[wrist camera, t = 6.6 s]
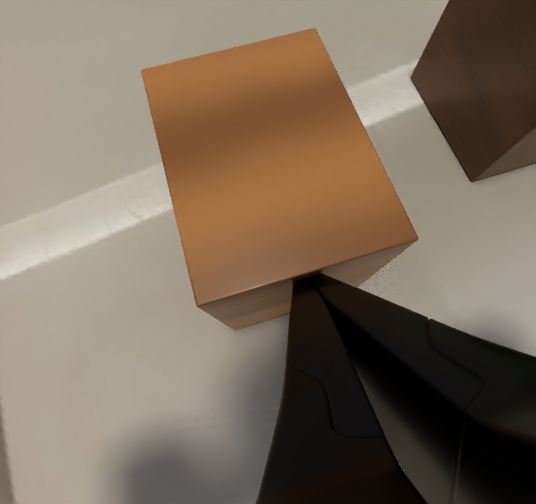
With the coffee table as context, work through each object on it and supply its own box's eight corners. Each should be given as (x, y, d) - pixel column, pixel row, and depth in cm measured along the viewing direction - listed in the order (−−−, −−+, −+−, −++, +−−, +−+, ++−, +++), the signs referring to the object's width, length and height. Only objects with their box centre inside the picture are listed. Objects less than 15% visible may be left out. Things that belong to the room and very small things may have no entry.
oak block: (348, 294, 16) (419, 238, 8) (234, 330, 15) (196, 307, 8) (297, 163, 18) (315, 27, 11) (196, 191, 18) (140, 69, 10)
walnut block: (564, 154, 18) (776, 10, 11) (471, 182, 18) (621, 52, 10) (493, 55, 21) (624, -121, 13) (409, 77, 20) (494, -92, 12)
